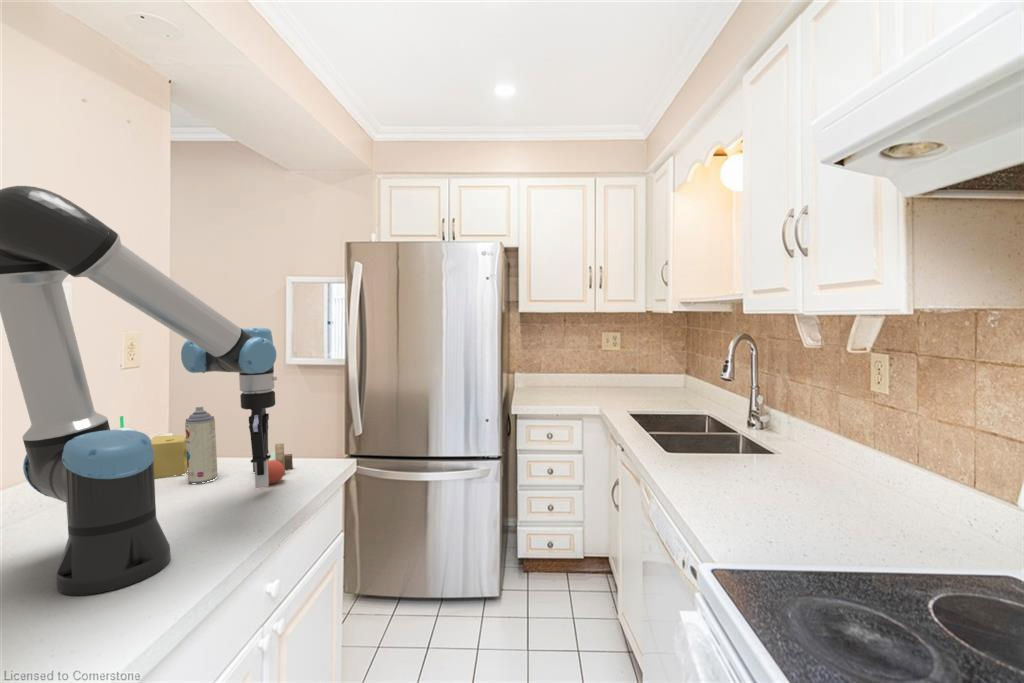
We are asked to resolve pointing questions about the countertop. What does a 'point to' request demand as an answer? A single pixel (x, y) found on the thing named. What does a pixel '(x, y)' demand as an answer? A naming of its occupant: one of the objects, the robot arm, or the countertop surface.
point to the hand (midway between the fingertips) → (262, 486)
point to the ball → (275, 471)
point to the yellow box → (169, 455)
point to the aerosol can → (201, 446)
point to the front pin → (272, 455)
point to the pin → (280, 454)
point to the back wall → (287, 462)
